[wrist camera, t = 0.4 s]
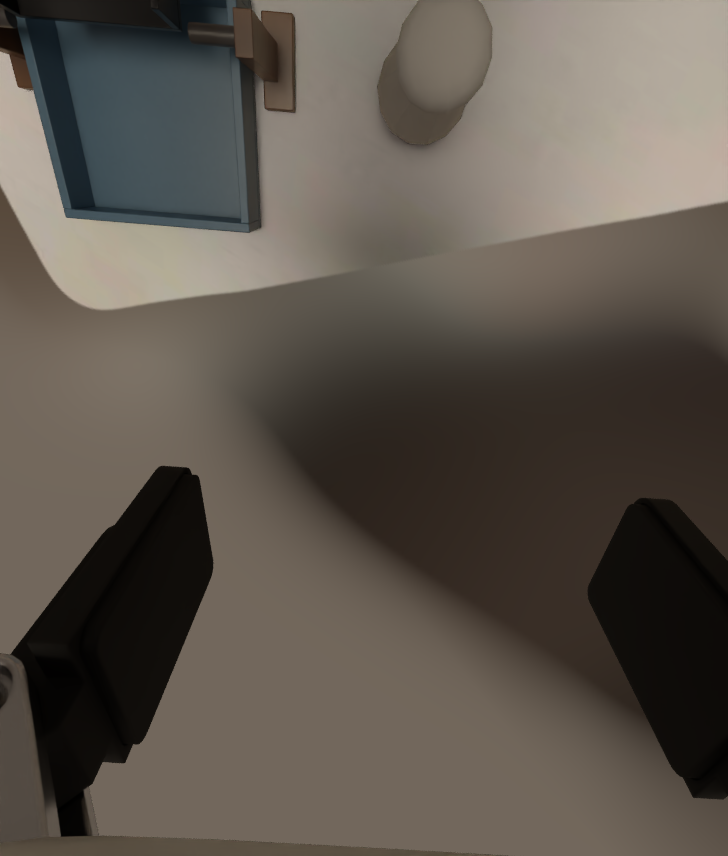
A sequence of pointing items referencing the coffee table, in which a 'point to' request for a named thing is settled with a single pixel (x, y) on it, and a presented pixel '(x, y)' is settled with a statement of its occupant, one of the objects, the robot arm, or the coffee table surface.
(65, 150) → the tray
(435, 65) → the salt shaker
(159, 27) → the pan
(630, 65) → the coffee table surface
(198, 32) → the stand
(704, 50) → the coffee table surface
